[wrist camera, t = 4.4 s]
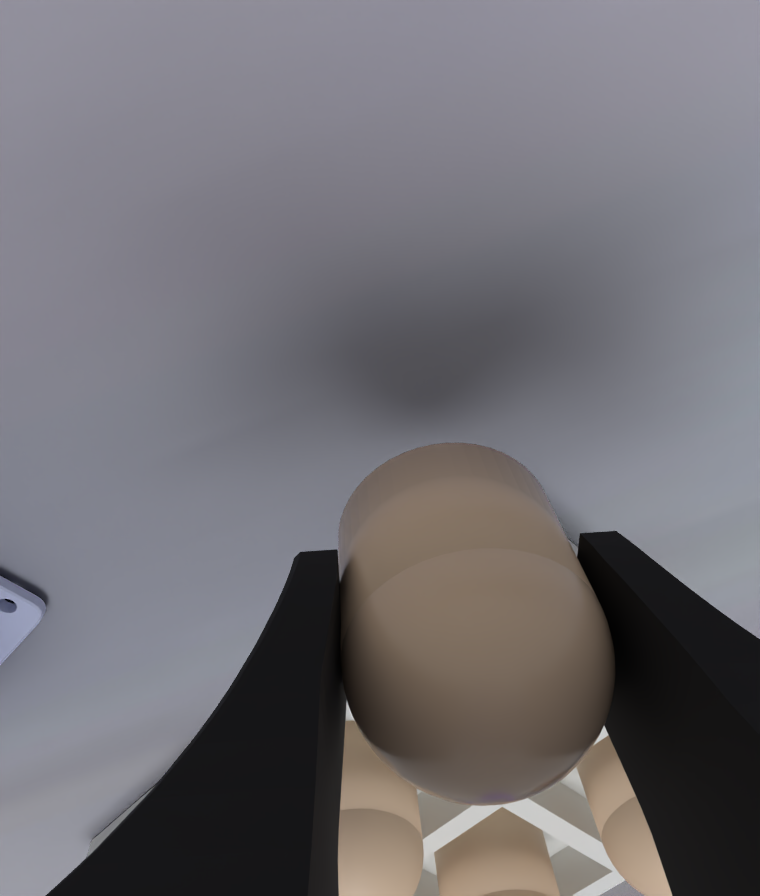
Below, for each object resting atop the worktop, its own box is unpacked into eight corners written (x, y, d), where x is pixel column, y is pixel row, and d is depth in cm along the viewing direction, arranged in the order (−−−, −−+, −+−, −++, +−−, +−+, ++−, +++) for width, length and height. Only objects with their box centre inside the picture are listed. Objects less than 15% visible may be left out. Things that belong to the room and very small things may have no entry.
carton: (91, 840, 26) (31, 1037, 21) (502, 483, 20) (564, 640, 14) (369, 956, 31) (376, 1138, 26) (767, 705, 25) (883, 880, 20)
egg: (293, 546, 13) (276, 793, 9) (447, 399, 12) (517, 601, 7) (444, 647, 15) (493, 901, 10) (594, 527, 13) (725, 756, 9)
